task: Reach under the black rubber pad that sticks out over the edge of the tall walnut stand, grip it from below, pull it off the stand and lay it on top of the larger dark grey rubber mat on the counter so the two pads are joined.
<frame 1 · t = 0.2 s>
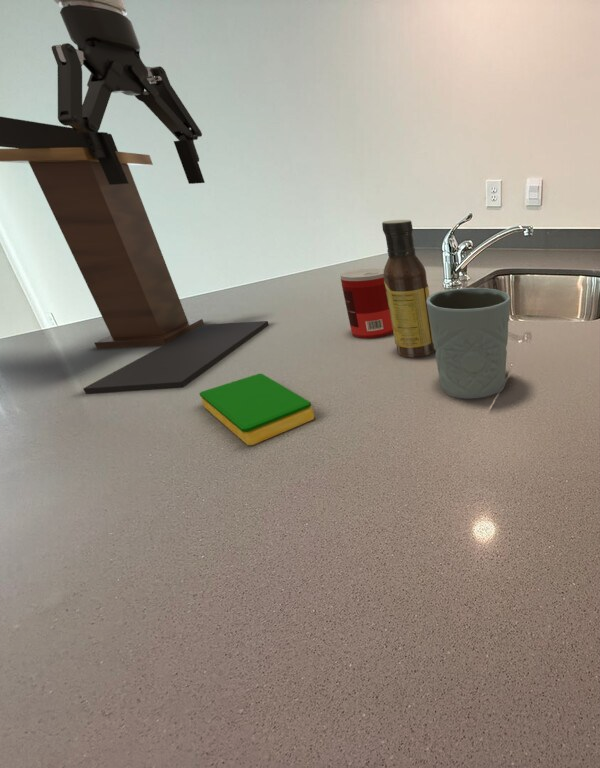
hand: (161, 183, 66), 25 cm above the countertop, tool pointing down, fingers open, 12 cm apart
grey cup: (474, 387, 54), on the countertop
dish sponge: (259, 416, 48), on the countertop
black pad: (40, 148, 57), point 30 cm above the countertop, touching stand
black base pad: (196, 354, 67), on the countertop
canned food: (375, 334, 75), on the countertop
stand: (155, 337, 75), on the countertop
sauce bottle: (416, 354, 65), on the countertop
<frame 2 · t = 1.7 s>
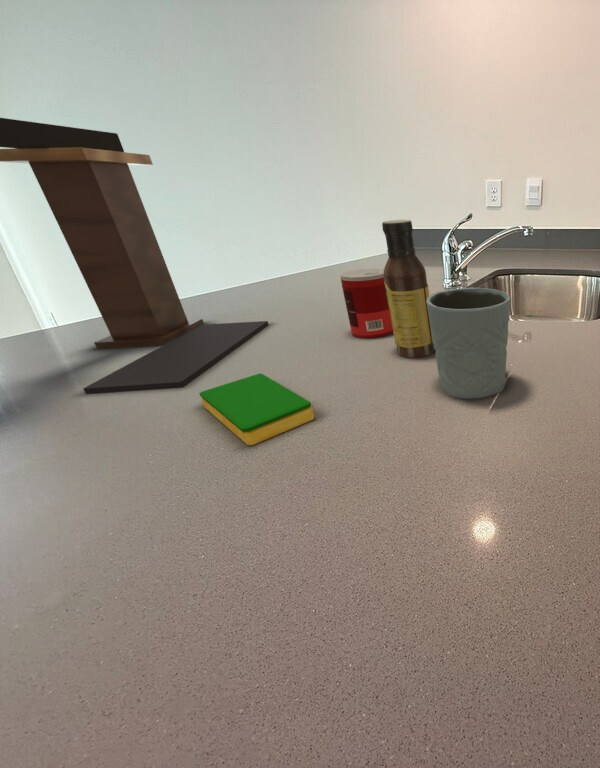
nothing on the countertop moved.
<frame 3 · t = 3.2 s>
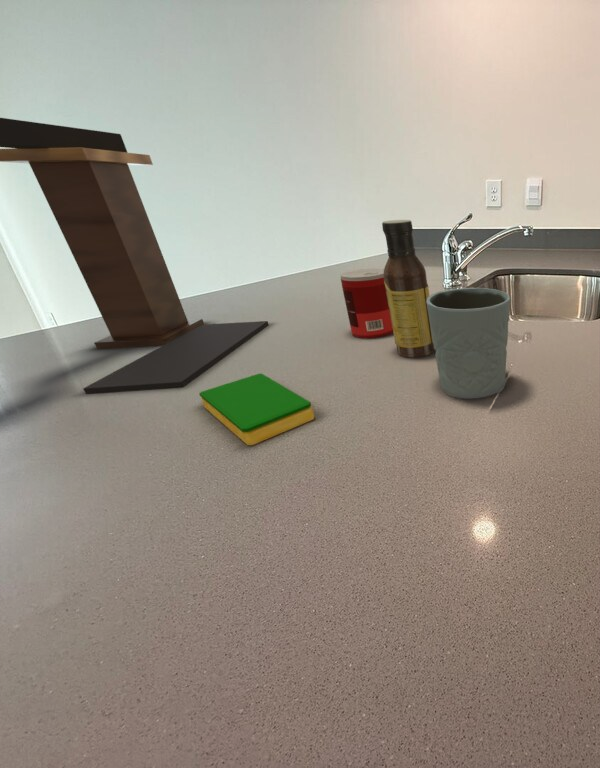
nothing on the countertop moved.
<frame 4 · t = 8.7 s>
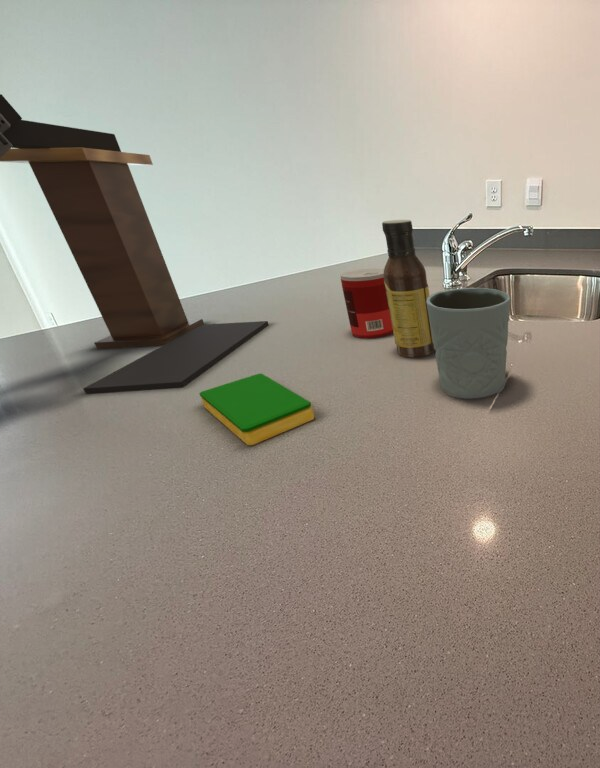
black pad: (45, 149, 58), point 30 cm above the countertop, touching gripper, stand
everything else where it was.
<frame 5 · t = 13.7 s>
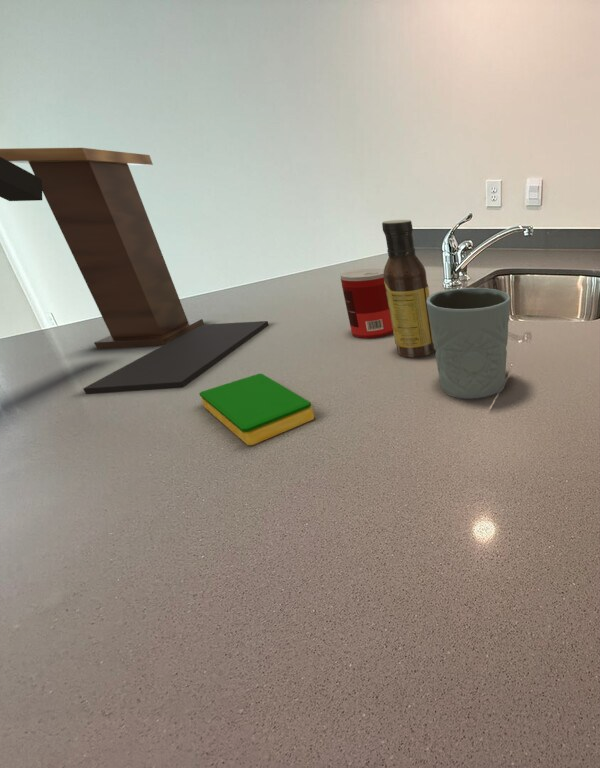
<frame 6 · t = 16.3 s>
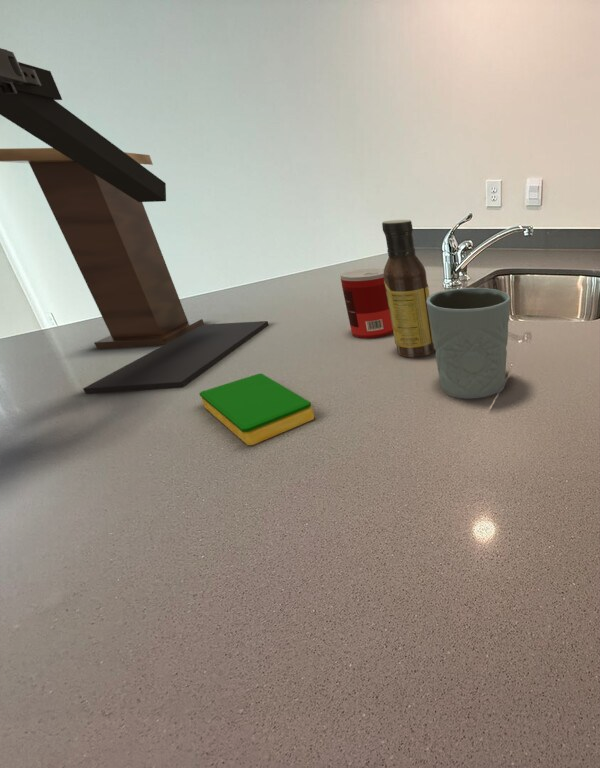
hand: (29, 85, 46), 35 cm above the countertop, tool horizontal, fingers closed on black pad, 4 cm apart
black pad: (77, 152, 51), point 29 cm above the countertop, tilted 30°, touching gripper
everything else where it was.
when the fingers open (7 cm above the countertop, at t = 24.1 s): black pad drops 2 cm, resting on black base pad.
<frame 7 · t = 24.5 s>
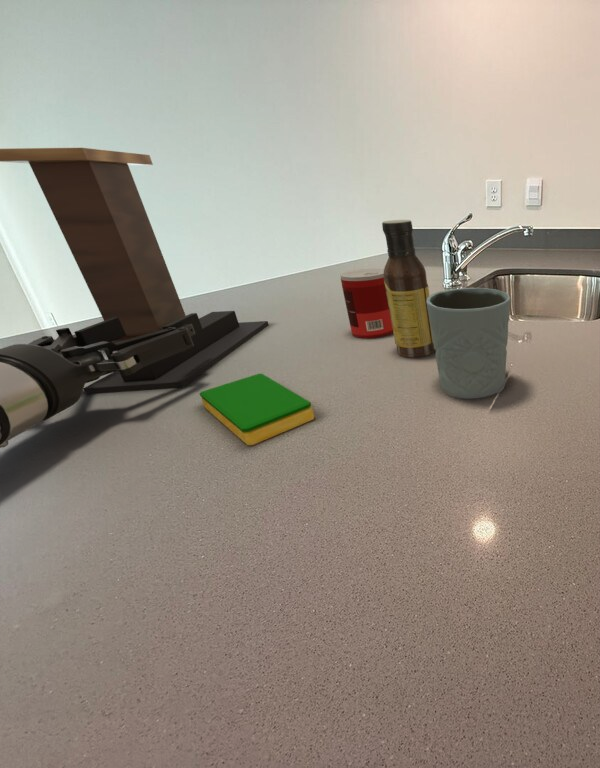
hand: (158, 324, 59), 7 cm above the countertop, tool horizontal, fingers open, 10 cm apart
black pad: (191, 349, 66), point 1 cm above the countertop, touching black base pad
everything else where it was.
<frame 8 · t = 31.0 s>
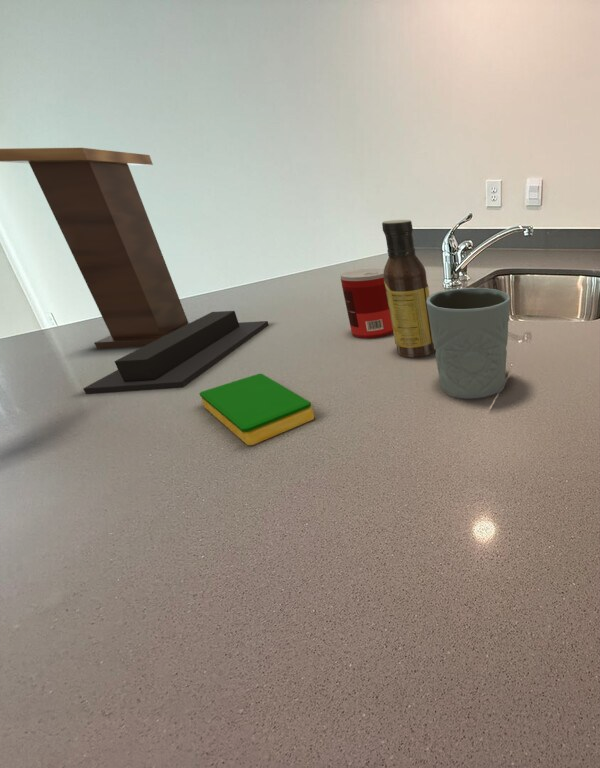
nothing on the countertop moved.
at the end: black pad inside the target area on the black base pad (0.6 cm from its centre), point 1.2 cm above the black base pad's base; black pad tilted 0°; the gripper is holding nothing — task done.
